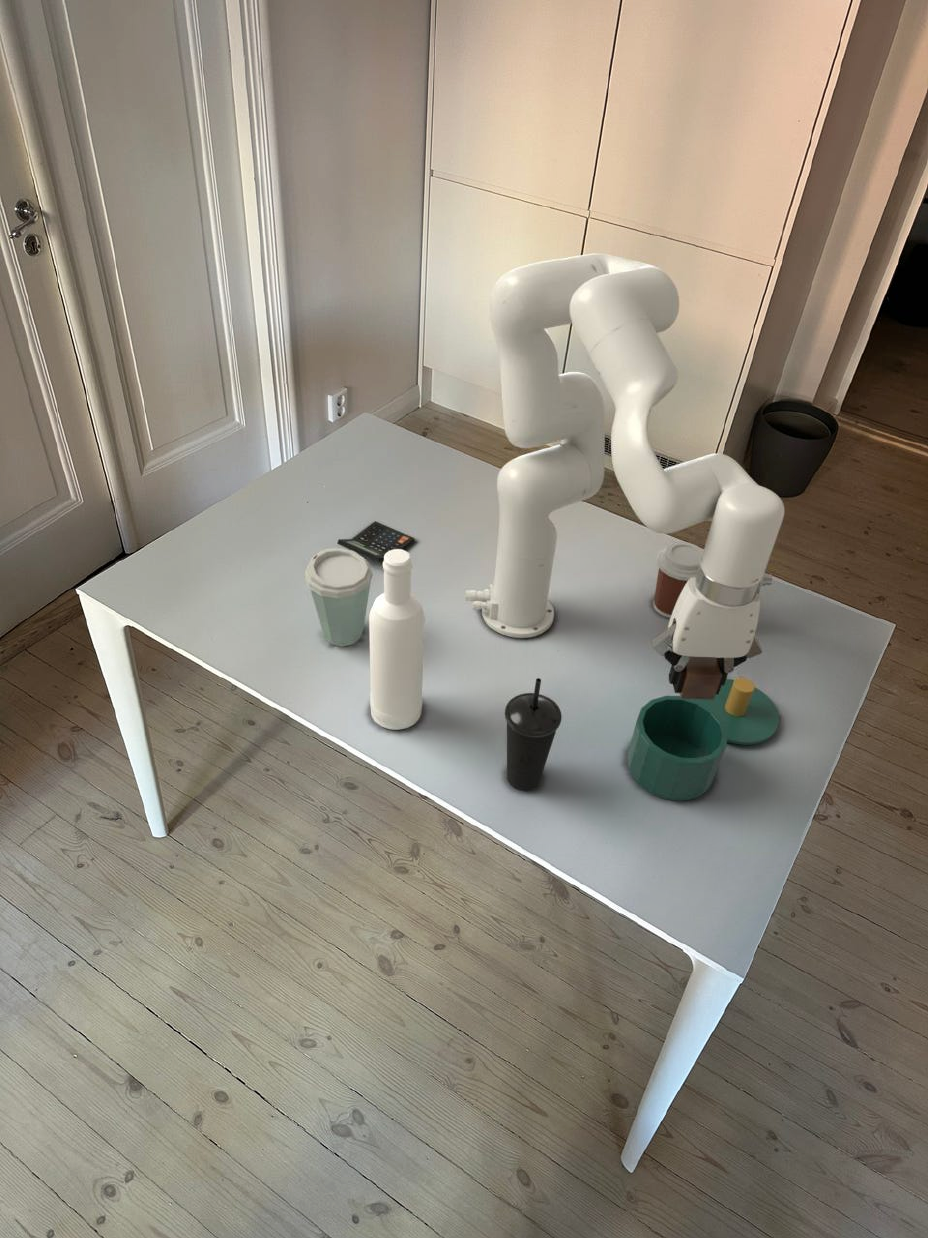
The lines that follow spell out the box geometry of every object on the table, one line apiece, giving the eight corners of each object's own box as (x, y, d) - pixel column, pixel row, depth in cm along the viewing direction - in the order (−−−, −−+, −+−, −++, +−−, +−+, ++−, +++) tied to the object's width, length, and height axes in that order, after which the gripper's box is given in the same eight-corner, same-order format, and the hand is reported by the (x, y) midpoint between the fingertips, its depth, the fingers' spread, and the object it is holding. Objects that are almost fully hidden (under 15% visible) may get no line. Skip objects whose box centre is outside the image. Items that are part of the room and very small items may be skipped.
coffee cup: (699, 598, 160) (715, 545, 152) (692, 628, 154) (709, 574, 146) (650, 585, 162) (663, 532, 154) (641, 615, 156) (654, 561, 148)
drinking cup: (494, 757, 129) (506, 659, 116) (545, 756, 130) (562, 659, 117) (499, 799, 123) (513, 702, 110) (553, 798, 124) (572, 700, 111)
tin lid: (699, 746, 133) (710, 716, 129) (682, 682, 143) (691, 652, 139) (787, 749, 134) (801, 719, 129) (764, 685, 144) (775, 655, 139)
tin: (634, 799, 125) (645, 761, 119) (621, 732, 134) (631, 694, 129) (721, 802, 125) (736, 764, 120) (702, 735, 135) (716, 697, 129)
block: (680, 698, 117) (688, 674, 114) (674, 675, 121) (681, 651, 118) (714, 699, 118) (722, 675, 115) (706, 676, 121) (714, 652, 118)
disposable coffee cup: (385, 626, 150) (384, 556, 140) (353, 665, 142) (350, 594, 132) (331, 607, 153) (327, 537, 143) (297, 644, 145) (290, 572, 135)
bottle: (402, 739, 131) (404, 582, 111) (359, 716, 134) (355, 560, 114) (431, 706, 136) (439, 552, 116) (390, 685, 139) (391, 531, 119)
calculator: (414, 541, 168) (414, 529, 166) (377, 571, 161) (377, 558, 159) (375, 524, 172) (375, 512, 170) (337, 553, 164) (337, 540, 162)
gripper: (786, 565, 110) (748, 669, 122) (653, 560, 110) (628, 665, 122) (804, 603, 105) (762, 708, 117) (664, 598, 104) (636, 704, 116)
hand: (694, 685), depth 119 cm, fingers closed on block, 4 cm apart
